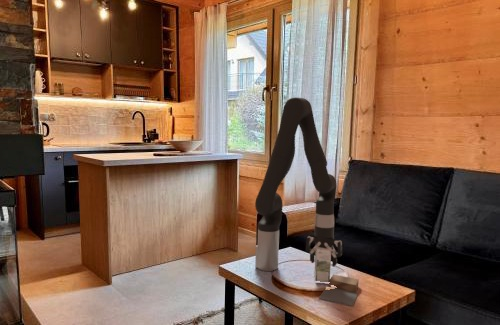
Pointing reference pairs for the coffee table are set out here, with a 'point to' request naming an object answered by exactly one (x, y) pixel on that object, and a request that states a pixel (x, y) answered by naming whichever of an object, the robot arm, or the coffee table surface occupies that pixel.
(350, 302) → the mat
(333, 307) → the coffee table surface
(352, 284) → the step block
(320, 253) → the syrup box
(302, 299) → the coffee table surface
